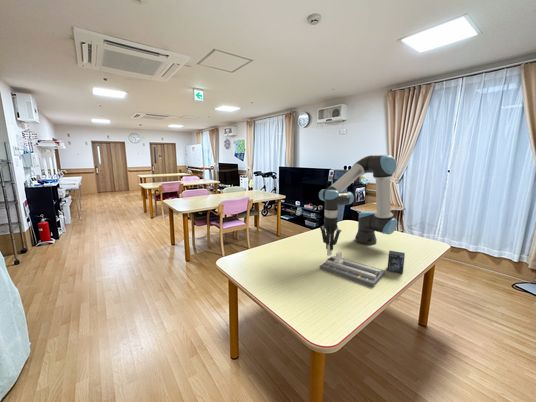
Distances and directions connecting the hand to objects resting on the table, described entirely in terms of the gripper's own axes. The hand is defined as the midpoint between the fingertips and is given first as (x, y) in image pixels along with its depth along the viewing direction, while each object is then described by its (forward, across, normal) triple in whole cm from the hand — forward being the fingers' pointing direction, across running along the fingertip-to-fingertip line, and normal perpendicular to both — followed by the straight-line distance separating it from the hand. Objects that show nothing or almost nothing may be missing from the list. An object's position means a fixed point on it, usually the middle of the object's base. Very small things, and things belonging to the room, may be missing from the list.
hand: (329, 254), depth 143 cm
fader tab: (+4, +6, 0) cm, 7 cm away
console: (+6, +14, 0) cm, 15 cm away
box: (+6, +32, +17) cm, 37 cm away
